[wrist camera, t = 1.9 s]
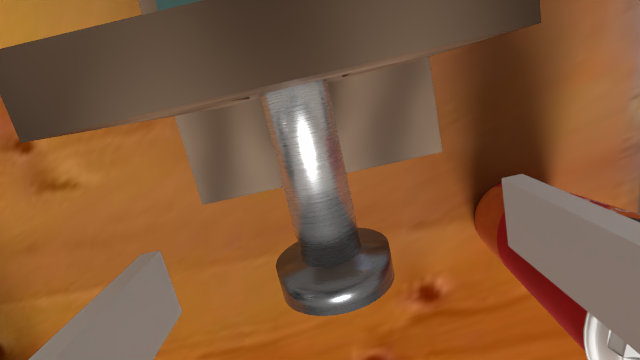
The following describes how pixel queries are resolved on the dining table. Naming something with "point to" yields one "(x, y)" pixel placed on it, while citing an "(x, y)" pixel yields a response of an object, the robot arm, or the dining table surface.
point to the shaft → (321, 210)
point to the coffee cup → (595, 338)
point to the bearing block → (253, 77)
